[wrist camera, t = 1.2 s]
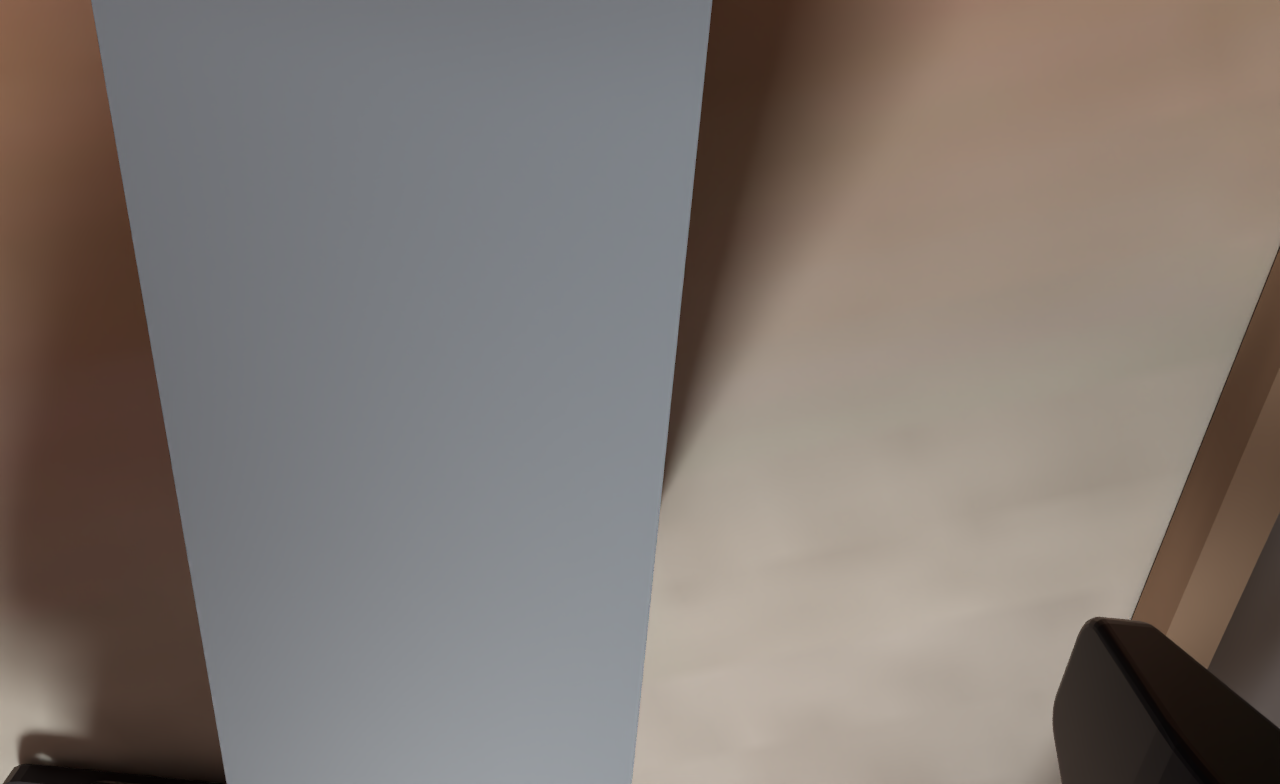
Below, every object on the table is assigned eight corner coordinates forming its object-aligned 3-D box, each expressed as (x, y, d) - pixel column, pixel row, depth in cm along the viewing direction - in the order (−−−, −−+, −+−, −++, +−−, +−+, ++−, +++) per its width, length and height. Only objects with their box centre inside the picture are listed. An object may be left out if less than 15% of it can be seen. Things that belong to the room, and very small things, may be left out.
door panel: (650, 523, 17) (592, 1167, 9) (484, 506, 17) (286, 1134, 9) (723, -209, 12) (726, -145, 4) (486, -228, 12) (55, -204, 4)
